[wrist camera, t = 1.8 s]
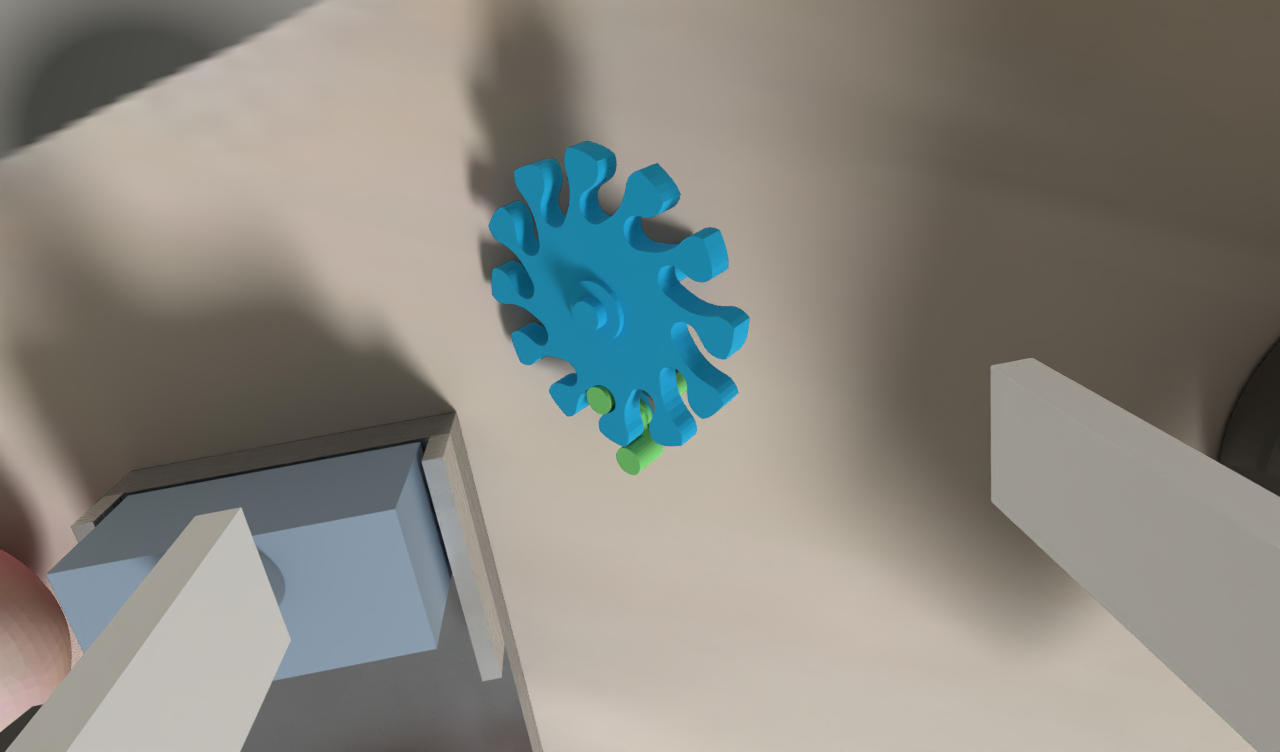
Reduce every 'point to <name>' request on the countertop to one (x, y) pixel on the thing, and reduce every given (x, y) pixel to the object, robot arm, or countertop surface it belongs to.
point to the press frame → (404, 685)
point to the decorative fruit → (29, 641)
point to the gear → (616, 302)
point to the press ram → (292, 555)
